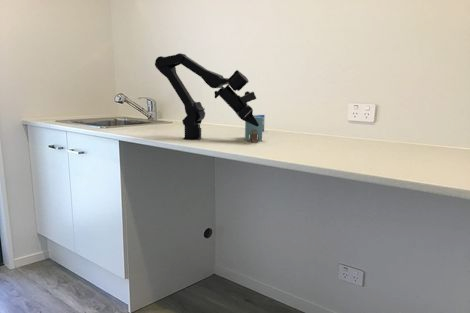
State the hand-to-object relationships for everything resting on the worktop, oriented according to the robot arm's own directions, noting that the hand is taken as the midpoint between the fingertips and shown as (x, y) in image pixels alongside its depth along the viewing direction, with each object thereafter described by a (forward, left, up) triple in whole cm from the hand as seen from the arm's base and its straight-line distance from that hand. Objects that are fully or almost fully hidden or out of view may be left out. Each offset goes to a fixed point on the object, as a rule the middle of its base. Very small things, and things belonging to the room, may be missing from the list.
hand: (256, 124), depth 160 cm
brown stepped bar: (-1, 0, -7) cm, 7 cm away
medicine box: (-4, +30, -7) cm, 31 cm away
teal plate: (-1, 0, -7) cm, 7 cm away
